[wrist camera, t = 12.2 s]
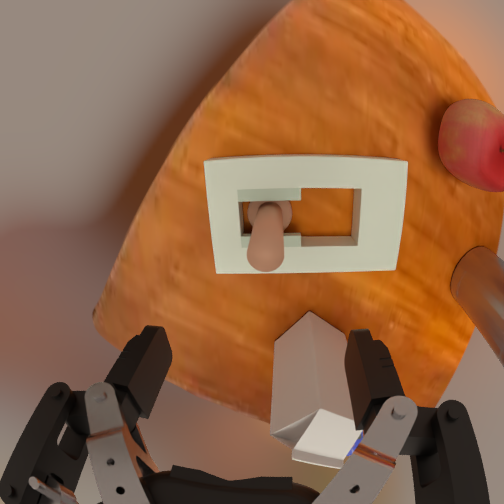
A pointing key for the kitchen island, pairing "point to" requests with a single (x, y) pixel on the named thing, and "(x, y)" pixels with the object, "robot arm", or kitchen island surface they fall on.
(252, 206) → the headed peg
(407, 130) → the kitchen island surface
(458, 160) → the apple
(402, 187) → the keyhole board
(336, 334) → the milk carton
